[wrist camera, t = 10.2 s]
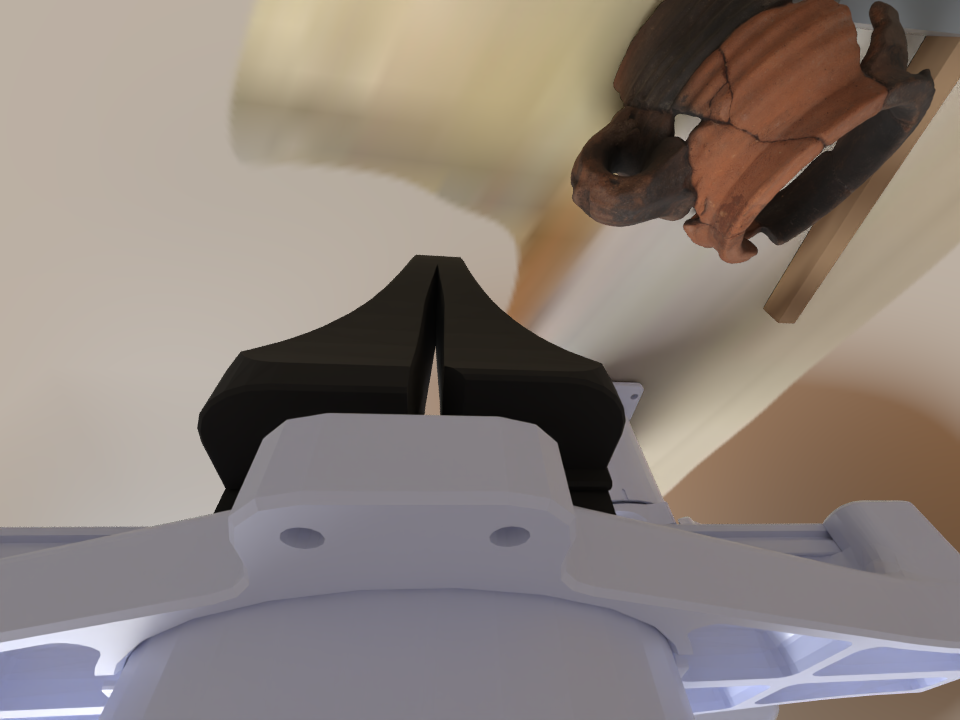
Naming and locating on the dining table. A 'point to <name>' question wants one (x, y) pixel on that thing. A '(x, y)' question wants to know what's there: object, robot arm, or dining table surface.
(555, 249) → the dining table surface
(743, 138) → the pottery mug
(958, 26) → the dome box
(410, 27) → the dining table surface
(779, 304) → the rail
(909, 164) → the dining table surface
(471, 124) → the dining table surface
